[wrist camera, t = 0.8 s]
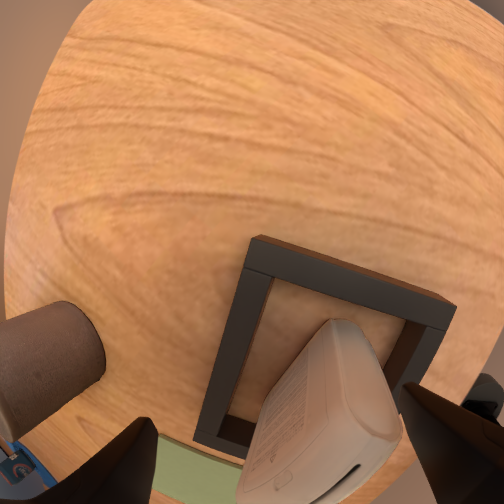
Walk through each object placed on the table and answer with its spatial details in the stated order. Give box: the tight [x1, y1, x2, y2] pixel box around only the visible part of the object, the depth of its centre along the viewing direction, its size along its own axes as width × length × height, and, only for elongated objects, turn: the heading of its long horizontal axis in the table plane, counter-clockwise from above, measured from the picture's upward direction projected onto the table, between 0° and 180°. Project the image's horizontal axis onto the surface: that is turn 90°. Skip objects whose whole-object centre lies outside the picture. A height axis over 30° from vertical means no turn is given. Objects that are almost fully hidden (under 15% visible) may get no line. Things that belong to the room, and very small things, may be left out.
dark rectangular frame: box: [193, 235, 457, 460], centre depth 18 cm, size 14×18×3 cm
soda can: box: [0, 450, 35, 486], centre depth 33 cm, size 7×7×12 cm
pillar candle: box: [0, 301, 105, 443], centre depth 17 cm, size 10×10×15 cm
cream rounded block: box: [235, 319, 403, 504], centre depth 14 cm, size 10×4×12 cm, turn 150°
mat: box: [152, 434, 244, 504], centre depth 23 cm, size 18×14×1 cm
